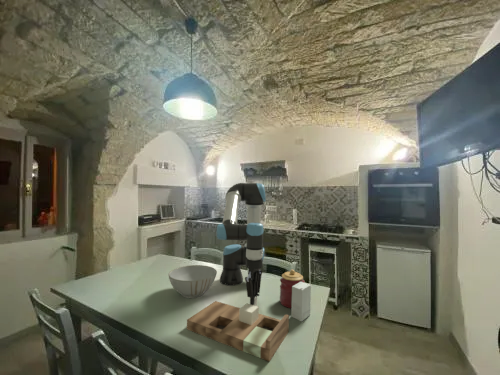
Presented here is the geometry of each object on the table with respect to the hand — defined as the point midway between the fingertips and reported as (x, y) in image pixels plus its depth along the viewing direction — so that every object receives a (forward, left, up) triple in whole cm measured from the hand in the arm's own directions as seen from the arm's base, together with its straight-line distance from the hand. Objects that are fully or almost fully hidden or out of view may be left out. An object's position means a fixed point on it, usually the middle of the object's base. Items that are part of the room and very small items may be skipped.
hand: (253, 311), depth 104 cm
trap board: (-3, -8, -5) cm, 10 cm away
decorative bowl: (-44, +10, -6) cm, 46 cm away
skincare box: (+17, +17, -6) cm, 24 cm away
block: (0, -5, -1) cm, 5 cm away
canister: (+9, +28, -6) cm, 30 cm away
